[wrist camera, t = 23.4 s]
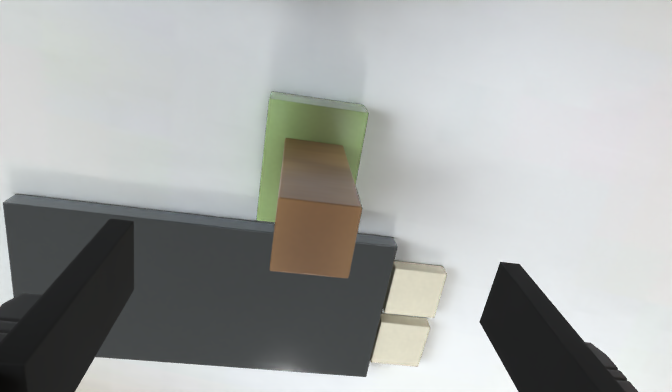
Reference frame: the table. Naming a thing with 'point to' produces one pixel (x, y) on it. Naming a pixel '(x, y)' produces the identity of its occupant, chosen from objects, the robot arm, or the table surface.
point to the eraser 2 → (400, 340)
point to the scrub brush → (312, 183)
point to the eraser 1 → (414, 289)
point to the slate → (210, 288)
